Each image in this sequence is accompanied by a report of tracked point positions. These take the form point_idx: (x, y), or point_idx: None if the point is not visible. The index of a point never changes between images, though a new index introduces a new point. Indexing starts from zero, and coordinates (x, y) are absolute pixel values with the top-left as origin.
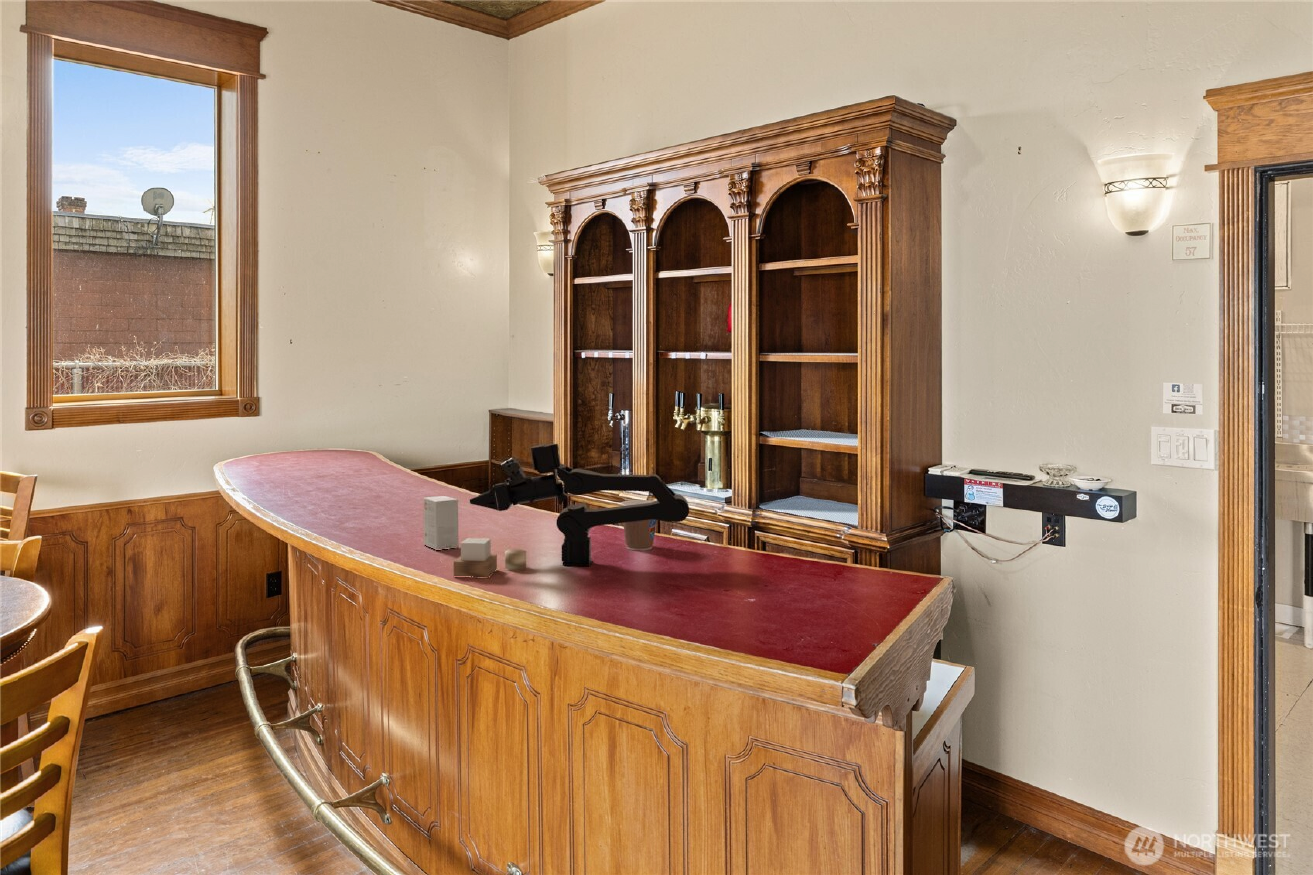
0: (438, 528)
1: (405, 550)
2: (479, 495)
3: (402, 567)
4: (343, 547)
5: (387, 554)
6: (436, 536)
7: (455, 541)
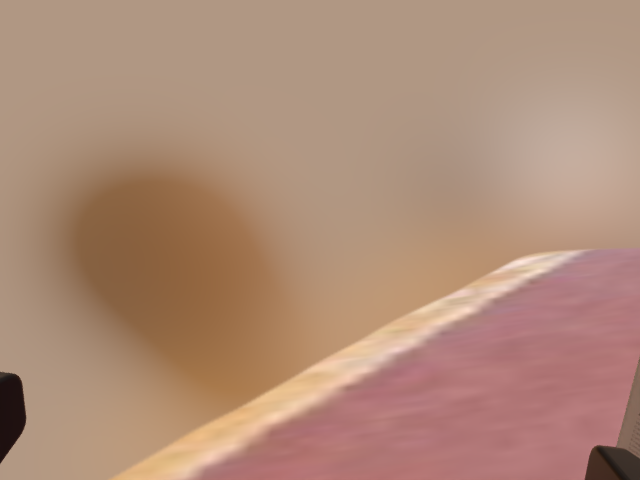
0: (637, 416)
1: (566, 388)
2: (598, 463)
3: (254, 421)
4: (544, 258)
5: (477, 350)
6: (616, 445)
7: None
